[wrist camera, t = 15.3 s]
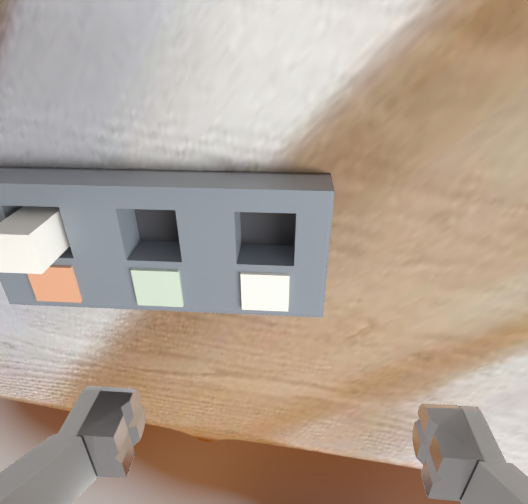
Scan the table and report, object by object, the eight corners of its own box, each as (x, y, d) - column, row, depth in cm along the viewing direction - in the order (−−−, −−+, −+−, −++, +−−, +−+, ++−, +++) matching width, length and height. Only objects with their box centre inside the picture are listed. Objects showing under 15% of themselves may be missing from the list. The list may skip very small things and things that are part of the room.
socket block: (-9, 166, 40) (-44, 184, 36) (330, 173, 38) (334, 193, 34) (33, 280, 47) (7, 306, 43) (320, 291, 45) (322, 319, 41)
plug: (36, 197, 41) (-17, 233, 34) (73, 198, 40) (28, 235, 34) (47, 231, 43) (-1, 272, 36) (83, 232, 43) (42, 274, 36)
